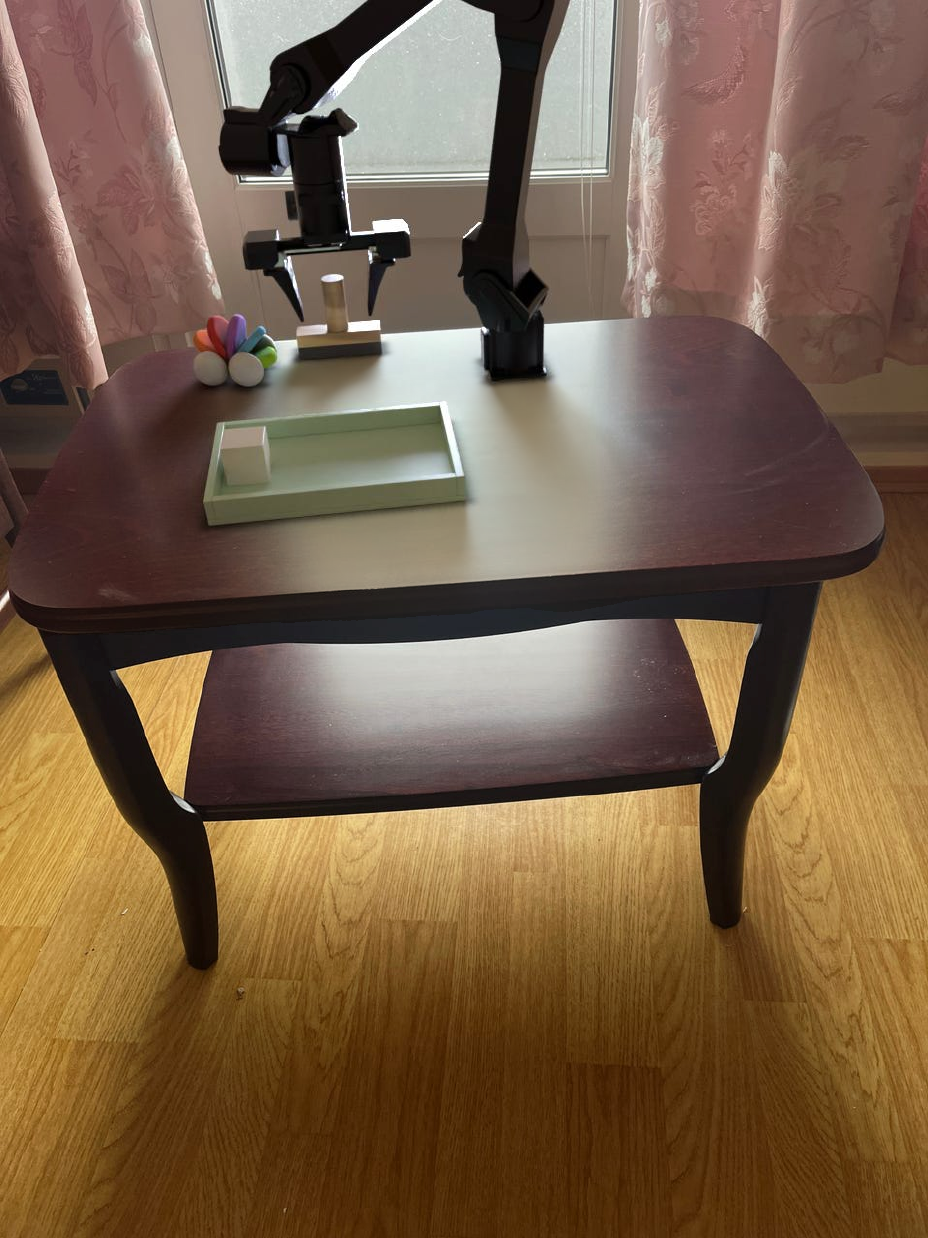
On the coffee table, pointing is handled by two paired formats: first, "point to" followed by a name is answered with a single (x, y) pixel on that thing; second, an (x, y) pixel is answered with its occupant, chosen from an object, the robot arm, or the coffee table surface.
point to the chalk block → (246, 456)
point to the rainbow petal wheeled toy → (232, 352)
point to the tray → (343, 464)
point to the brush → (337, 328)
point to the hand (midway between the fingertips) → (336, 317)
